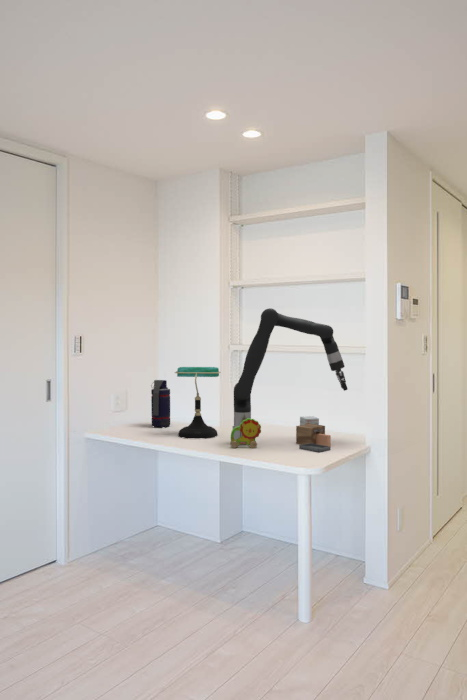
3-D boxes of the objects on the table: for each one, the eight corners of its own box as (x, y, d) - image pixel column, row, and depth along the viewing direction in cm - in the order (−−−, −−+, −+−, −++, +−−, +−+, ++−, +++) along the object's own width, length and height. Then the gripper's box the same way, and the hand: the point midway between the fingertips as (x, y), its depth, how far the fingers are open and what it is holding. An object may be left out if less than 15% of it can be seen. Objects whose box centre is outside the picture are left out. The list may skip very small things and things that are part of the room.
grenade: (156, 424, 376) (156, 379, 375) (173, 425, 372) (173, 379, 371) (146, 428, 363) (146, 380, 362) (164, 428, 359) (163, 381, 358)
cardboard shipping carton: (311, 446, 302) (311, 428, 301) (296, 443, 309) (296, 426, 309) (325, 443, 310) (325, 425, 309) (310, 440, 318) (310, 423, 317)
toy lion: (230, 448, 297) (230, 419, 296) (230, 446, 302) (230, 417, 302) (261, 448, 297) (261, 419, 296) (260, 446, 302) (260, 417, 302)
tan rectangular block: (327, 447, 300) (327, 435, 300) (312, 444, 307) (312, 433, 307) (330, 446, 301) (330, 435, 301) (315, 444, 309) (315, 432, 309)
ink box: (305, 439, 322) (305, 418, 322) (299, 436, 330) (299, 416, 330) (319, 438, 324) (319, 417, 324) (313, 436, 333) (313, 415, 332)
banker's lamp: (222, 432, 346) (222, 366, 345) (217, 439, 323) (217, 368, 322) (179, 431, 348) (179, 365, 347) (171, 438, 325) (171, 368, 324)
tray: (319, 452, 286) (319, 448, 286) (299, 448, 295) (299, 445, 295) (330, 450, 292) (330, 446, 292) (310, 446, 301) (310, 443, 301)
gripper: (327, 361, 317) (336, 389, 318) (330, 363, 303) (339, 393, 303) (340, 357, 316) (349, 385, 317) (343, 359, 302) (353, 388, 303)
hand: (344, 389), depth 310 cm, fingers open, 8 cm apart
